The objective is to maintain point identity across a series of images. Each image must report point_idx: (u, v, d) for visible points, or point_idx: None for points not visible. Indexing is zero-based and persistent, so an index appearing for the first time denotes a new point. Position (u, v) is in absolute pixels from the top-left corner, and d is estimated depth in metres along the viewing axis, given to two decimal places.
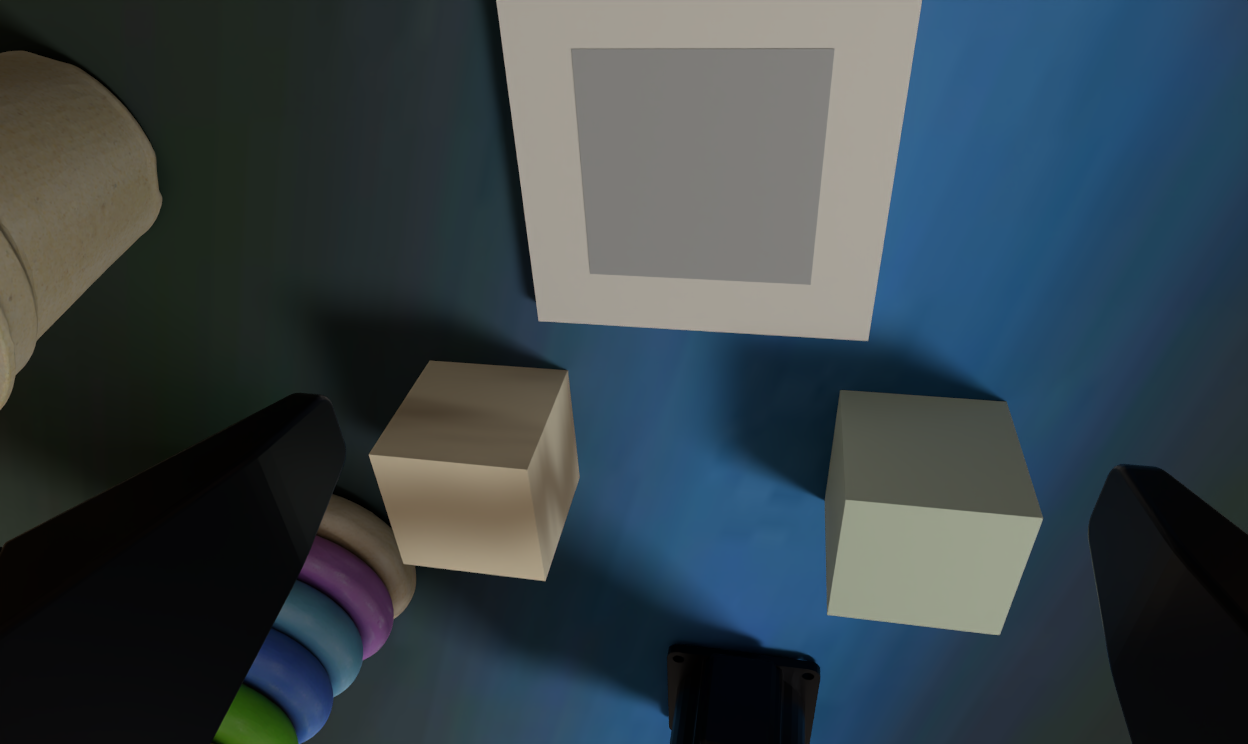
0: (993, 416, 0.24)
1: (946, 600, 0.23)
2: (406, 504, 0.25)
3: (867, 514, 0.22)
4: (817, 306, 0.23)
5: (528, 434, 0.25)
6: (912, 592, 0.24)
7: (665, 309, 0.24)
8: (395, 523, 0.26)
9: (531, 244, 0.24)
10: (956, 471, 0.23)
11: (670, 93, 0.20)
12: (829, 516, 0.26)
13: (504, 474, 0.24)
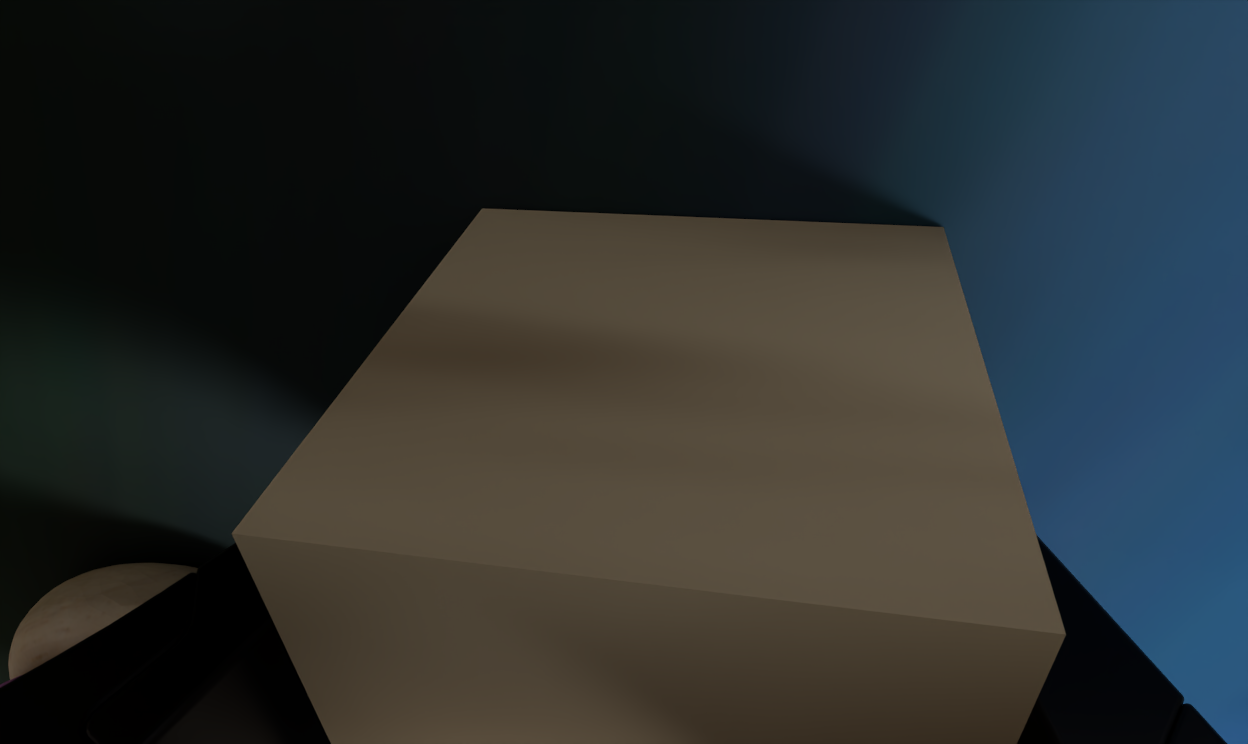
0: None
1: None
2: (406, 725, 0.06)
3: None
4: None
5: (949, 445, 0.06)
6: None
7: None
8: None
9: None
10: None
11: None
12: None
13: (916, 650, 0.05)
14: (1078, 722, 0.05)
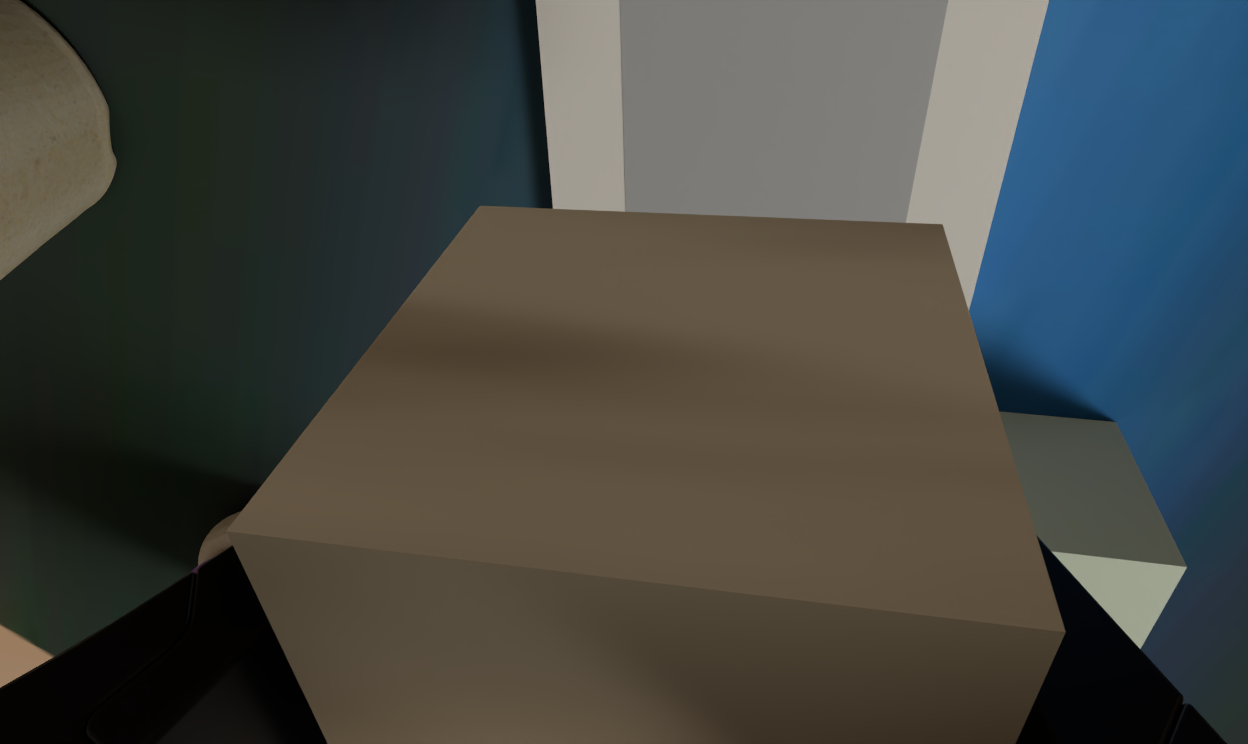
0: (1104, 440, 0.20)
1: None
2: (403, 724, 0.06)
3: None
4: None
5: (948, 441, 0.06)
6: None
7: None
8: None
9: None
10: (1070, 505, 0.19)
11: (740, 32, 0.16)
12: None
13: (916, 646, 0.05)
14: (1078, 722, 0.05)
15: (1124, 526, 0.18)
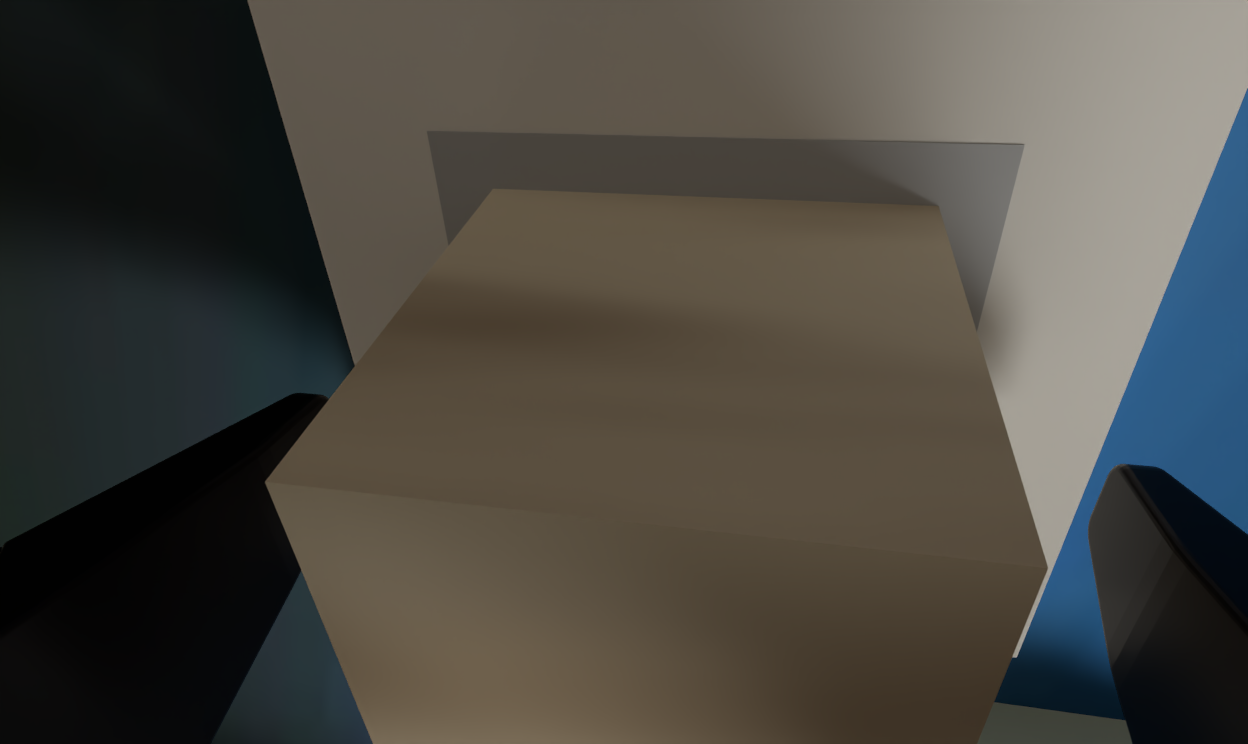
0: None
1: None
2: (425, 672, 0.07)
3: None
4: None
5: (941, 403, 0.06)
6: None
7: None
8: (382, 726, 0.07)
9: None
10: None
11: None
12: None
13: (910, 586, 0.05)
14: None
15: None
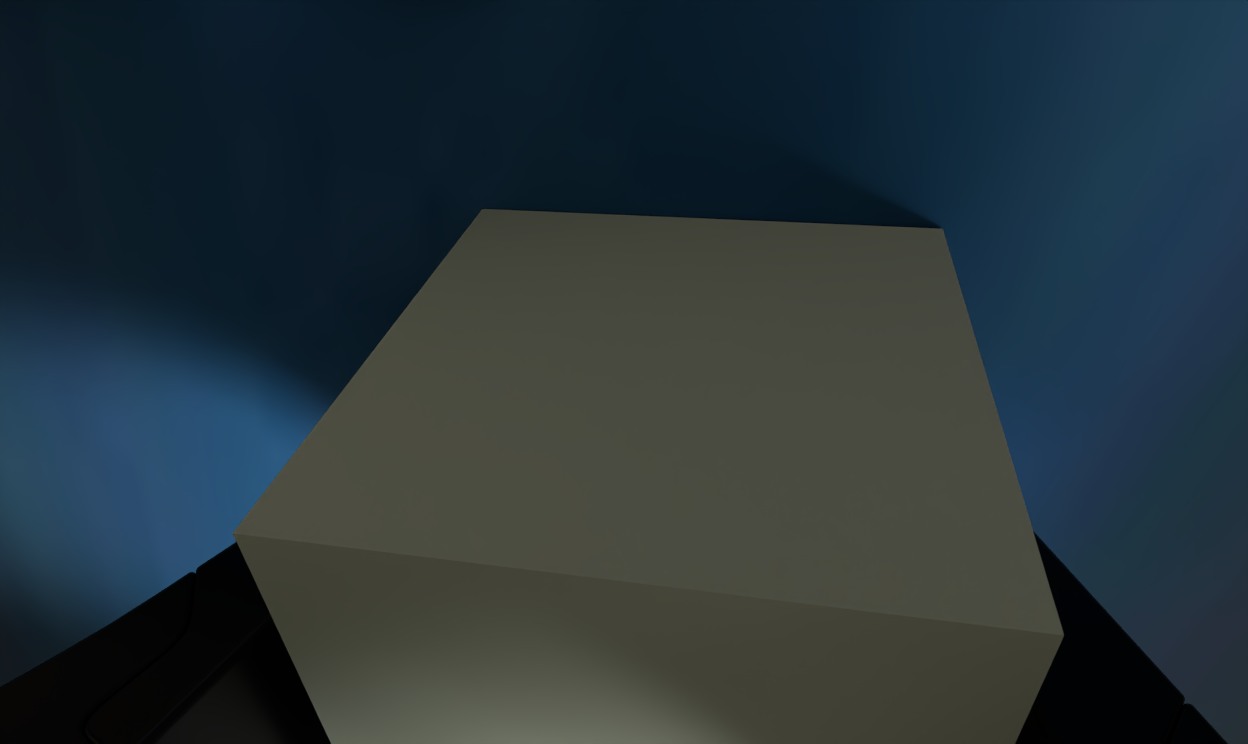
0: (900, 267, 0.08)
1: None
2: None
3: (338, 594, 0.05)
4: None
5: None
6: None
7: None
8: None
9: None
10: (728, 423, 0.06)
11: None
12: None
13: None
14: (1078, 722, 0.05)
15: (875, 486, 0.05)
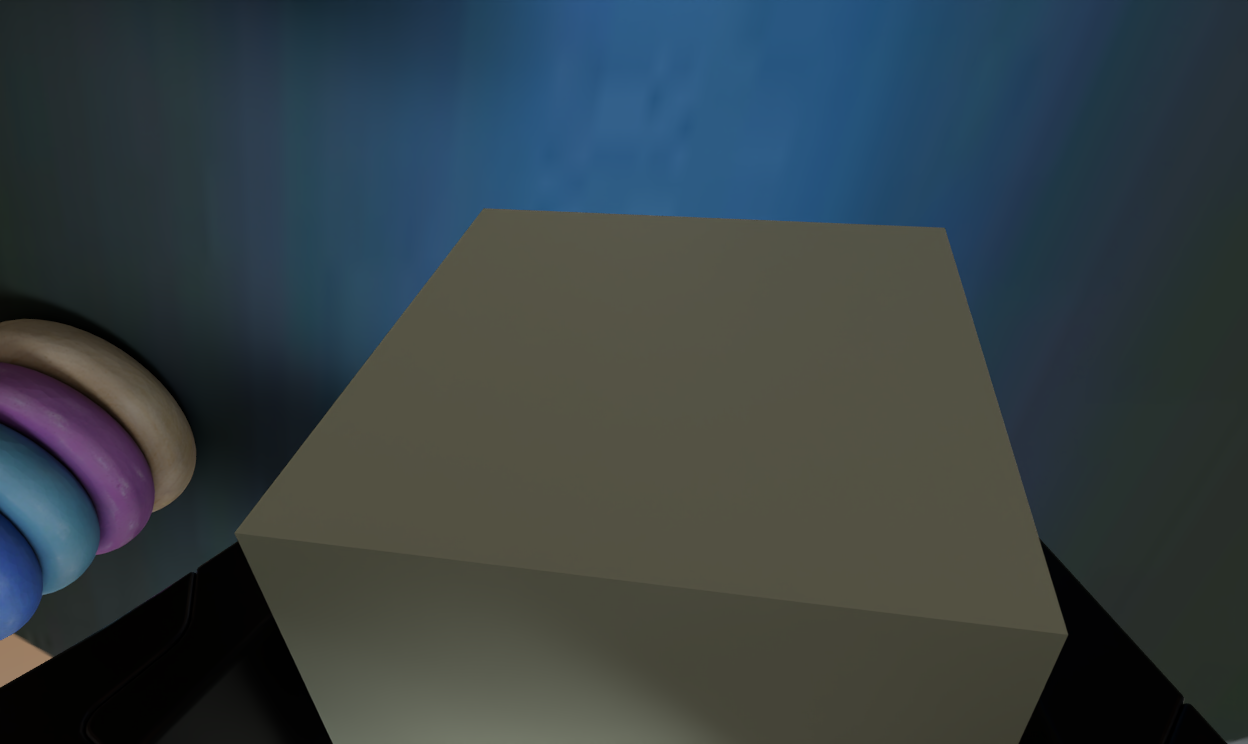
0: (902, 266, 0.08)
1: None
2: None
3: (341, 594, 0.05)
4: None
5: None
6: None
7: None
8: None
9: None
10: (730, 423, 0.06)
11: None
12: None
13: None
14: (1077, 722, 0.05)
15: (877, 485, 0.05)
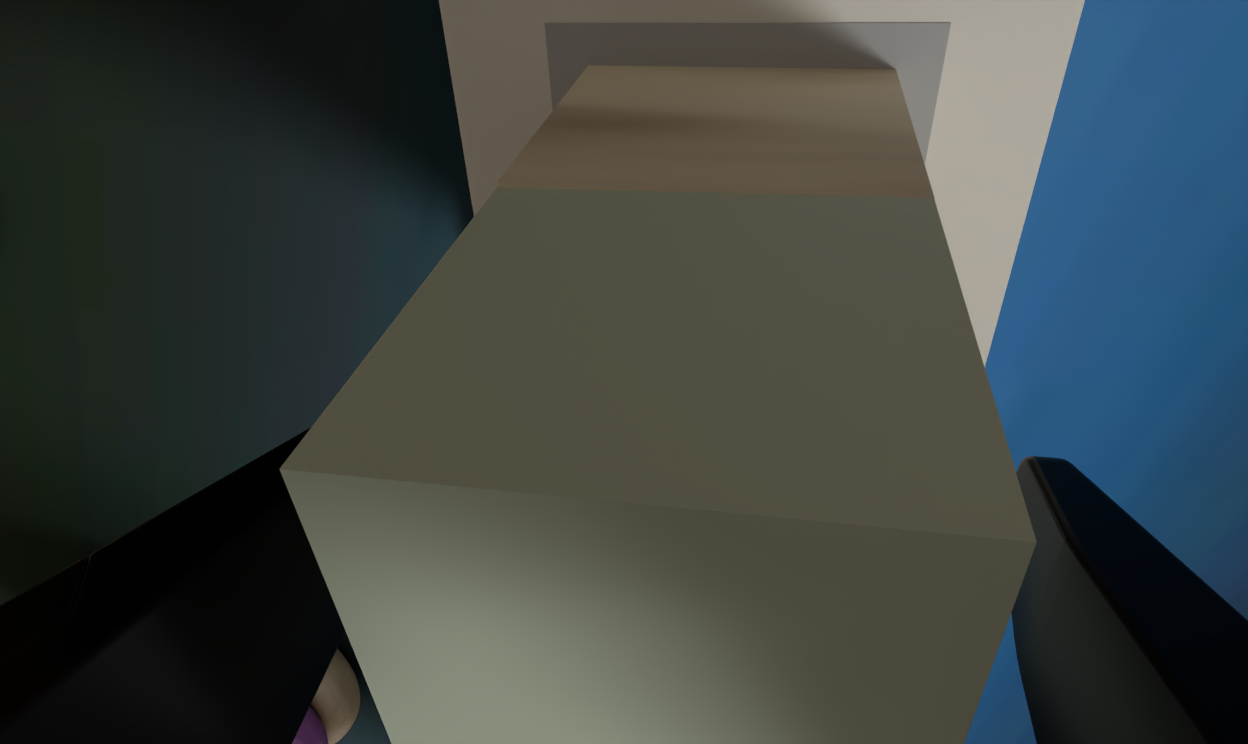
0: (893, 232, 0.08)
1: None
2: None
3: (377, 525, 0.06)
4: None
5: (886, 148, 0.10)
6: None
7: None
8: None
9: None
10: (731, 372, 0.06)
11: None
12: None
13: None
14: None
15: (866, 421, 0.06)
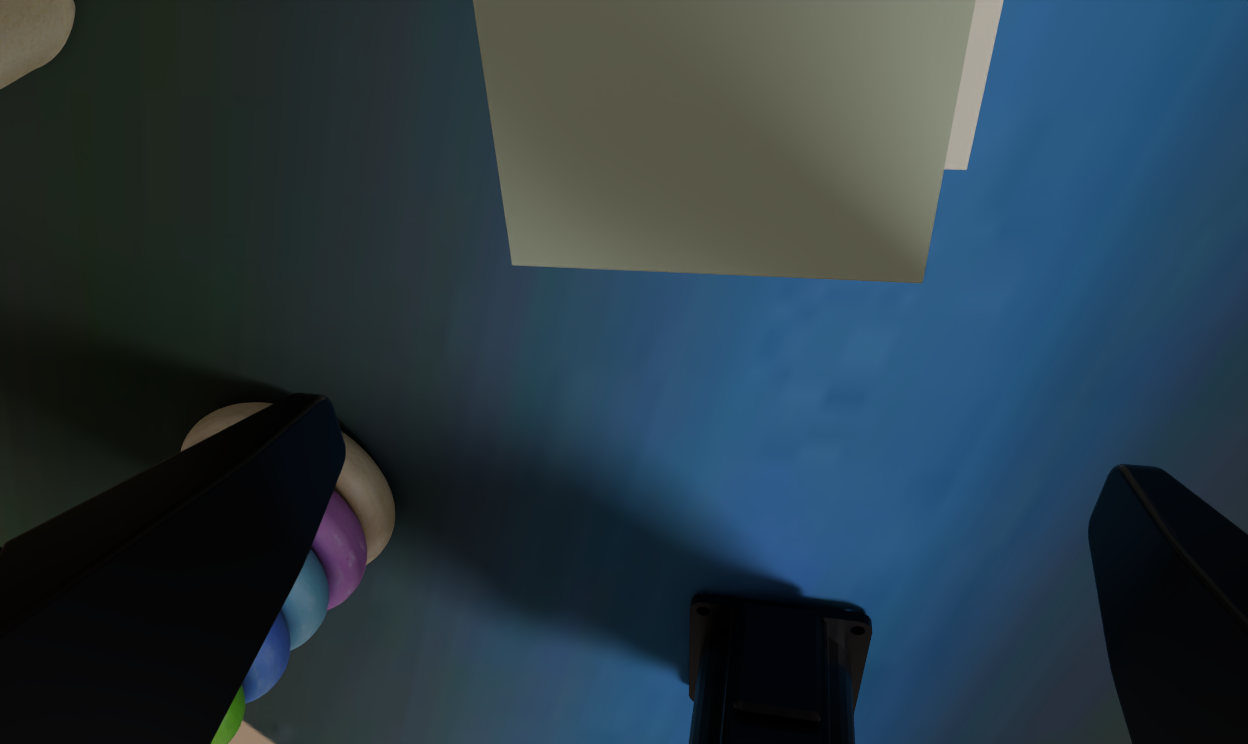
0: None
1: (778, 173, 0.09)
2: None
3: None
4: None
5: None
6: (690, 155, 0.09)
7: None
8: None
9: None
10: None
11: None
12: None
13: None
14: None
15: None
